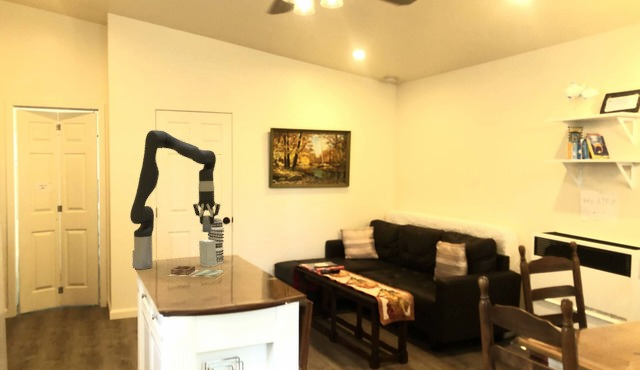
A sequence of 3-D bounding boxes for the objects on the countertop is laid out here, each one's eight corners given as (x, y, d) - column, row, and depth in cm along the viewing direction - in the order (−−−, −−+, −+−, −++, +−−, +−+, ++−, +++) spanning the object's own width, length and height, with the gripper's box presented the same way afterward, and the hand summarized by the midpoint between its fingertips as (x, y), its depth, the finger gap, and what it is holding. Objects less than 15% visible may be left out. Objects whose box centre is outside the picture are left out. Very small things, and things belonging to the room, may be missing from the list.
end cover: (201, 232, 237) (200, 216, 237) (204, 231, 242) (204, 215, 241) (209, 232, 237) (209, 216, 236) (213, 231, 241) (212, 215, 241)
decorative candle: (227, 261, 274) (227, 218, 273) (216, 264, 266) (215, 220, 265) (216, 260, 279) (215, 217, 278) (204, 262, 271) (204, 219, 270)
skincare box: (216, 267, 259) (216, 240, 258) (206, 269, 255) (206, 241, 254) (208, 265, 265) (208, 238, 264) (198, 266, 261) (198, 239, 260)
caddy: (165, 277, 236) (165, 270, 236) (177, 271, 250) (177, 264, 250) (214, 279, 233) (214, 272, 233) (224, 272, 247) (223, 266, 247)
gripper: (189, 190, 236) (190, 225, 236) (217, 190, 234) (218, 225, 234) (195, 190, 243) (196, 223, 244) (222, 189, 241) (223, 223, 242)
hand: (207, 224), depth 239 cm, fingers closed on end cover, 4 cm apart
